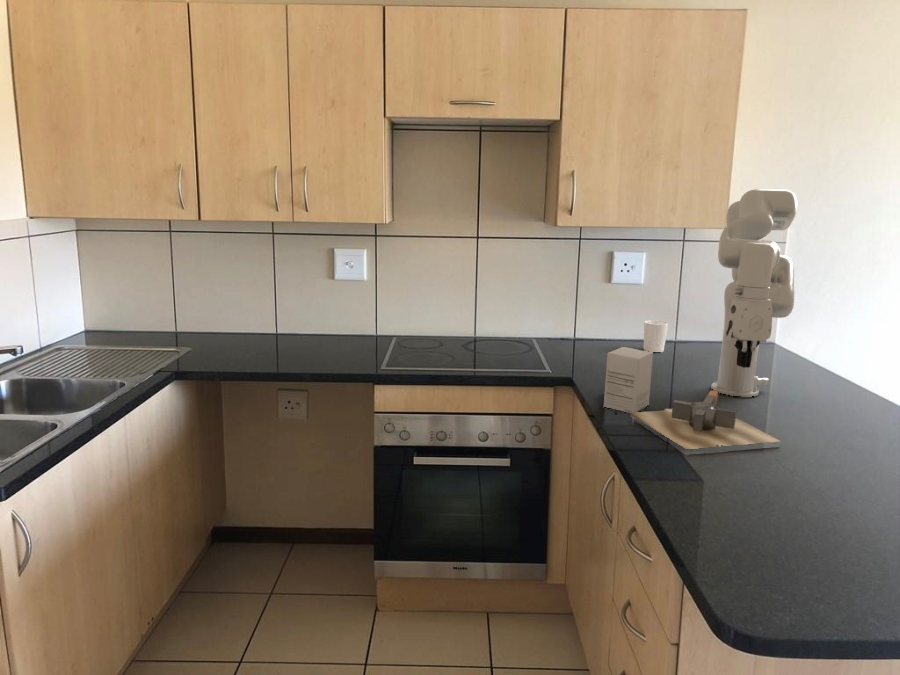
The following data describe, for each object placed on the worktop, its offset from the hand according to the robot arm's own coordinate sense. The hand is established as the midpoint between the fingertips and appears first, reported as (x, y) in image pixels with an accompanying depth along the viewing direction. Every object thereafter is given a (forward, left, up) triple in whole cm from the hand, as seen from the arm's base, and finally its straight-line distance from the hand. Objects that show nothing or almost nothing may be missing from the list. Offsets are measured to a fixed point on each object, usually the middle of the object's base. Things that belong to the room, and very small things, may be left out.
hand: (743, 366), depth 172 cm
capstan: (+13, +6, -12) cm, 18 cm away
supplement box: (+25, -12, -14) cm, 31 cm away
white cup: (-15, -66, -14) cm, 69 cm away
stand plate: (+16, +8, -13) cm, 22 cm away
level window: (+16, -2, -12) cm, 20 cm away
